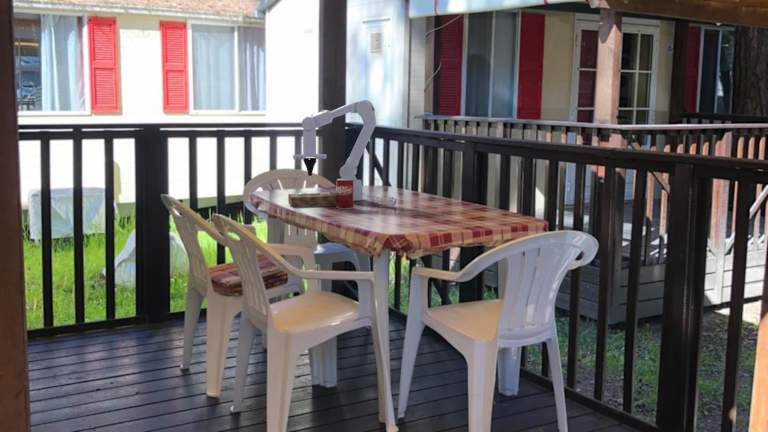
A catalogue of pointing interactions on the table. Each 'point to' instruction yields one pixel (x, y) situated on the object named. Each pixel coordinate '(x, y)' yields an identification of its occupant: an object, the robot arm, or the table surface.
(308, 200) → the button panel
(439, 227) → the table surface
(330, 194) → the cream button
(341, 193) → the soda can
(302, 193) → the sage button
